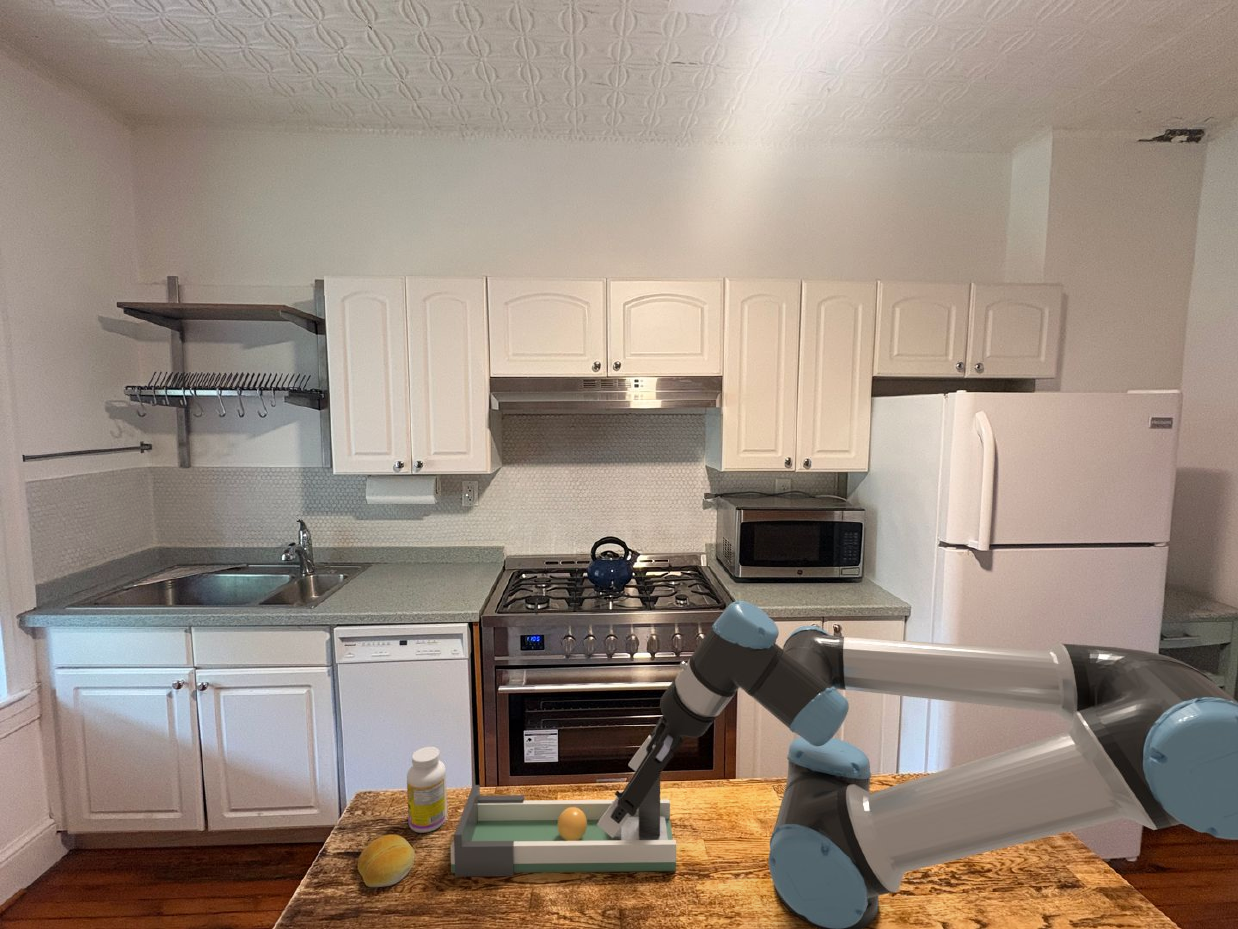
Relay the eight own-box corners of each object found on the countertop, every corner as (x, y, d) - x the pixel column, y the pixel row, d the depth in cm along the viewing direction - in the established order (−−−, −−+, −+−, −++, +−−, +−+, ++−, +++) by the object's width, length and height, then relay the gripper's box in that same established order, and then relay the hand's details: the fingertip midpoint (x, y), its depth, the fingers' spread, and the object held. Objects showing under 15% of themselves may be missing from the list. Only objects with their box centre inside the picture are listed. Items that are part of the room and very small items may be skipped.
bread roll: (370, 900, 88) (369, 875, 88) (352, 865, 95) (351, 842, 94) (424, 872, 93) (423, 848, 93) (403, 841, 100) (402, 819, 100)
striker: (664, 820, 102) (664, 749, 101) (668, 854, 94) (669, 778, 93) (612, 820, 102) (612, 750, 101) (612, 854, 94) (612, 778, 93)
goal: (524, 821, 104) (524, 784, 104) (513, 876, 92) (512, 834, 92) (473, 822, 104) (472, 785, 104) (455, 876, 92) (454, 835, 91)
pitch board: (669, 823, 104) (669, 799, 104) (676, 871, 93) (676, 844, 93) (468, 825, 104) (467, 801, 103) (451, 873, 93) (450, 846, 92)
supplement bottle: (415, 809, 108) (413, 743, 107) (451, 808, 108) (449, 742, 107) (403, 835, 101) (400, 765, 100) (441, 834, 101) (439, 764, 100)
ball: (592, 832, 100) (591, 805, 99) (579, 852, 95) (578, 824, 95) (566, 824, 102) (565, 797, 101) (552, 844, 97) (551, 816, 96)
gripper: (692, 643, 94) (627, 734, 100) (648, 729, 70) (567, 840, 77) (731, 673, 92) (663, 763, 98) (700, 770, 69) (613, 880, 75)
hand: (621, 797), depth 87 cm, fingers open, 13 cm apart
